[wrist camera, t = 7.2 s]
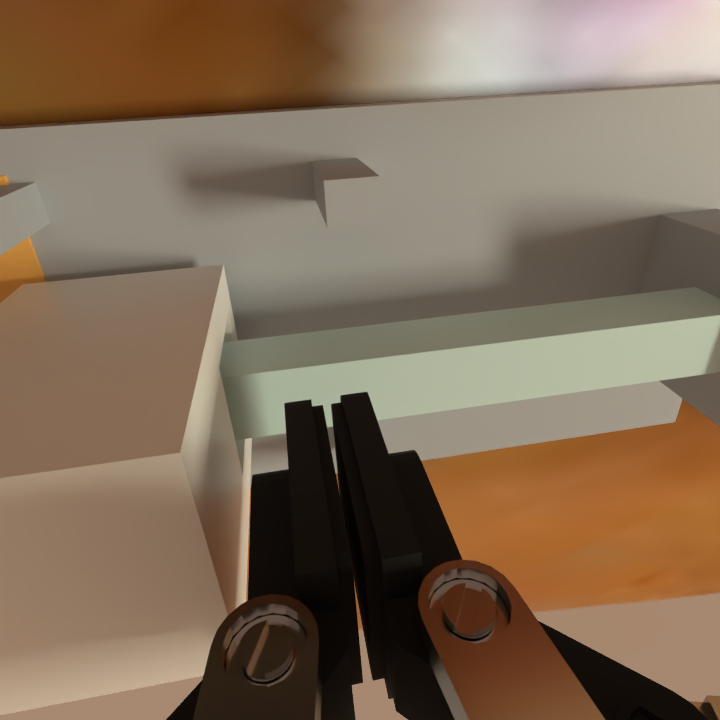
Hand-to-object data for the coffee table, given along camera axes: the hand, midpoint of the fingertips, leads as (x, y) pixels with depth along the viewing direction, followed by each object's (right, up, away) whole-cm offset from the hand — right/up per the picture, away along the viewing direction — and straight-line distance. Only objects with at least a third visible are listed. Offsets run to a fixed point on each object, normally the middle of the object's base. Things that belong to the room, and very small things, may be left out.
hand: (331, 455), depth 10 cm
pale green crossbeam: (-2, +2, +3) cm, 4 cm away
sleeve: (-5, +2, +4) cm, 7 cm away
